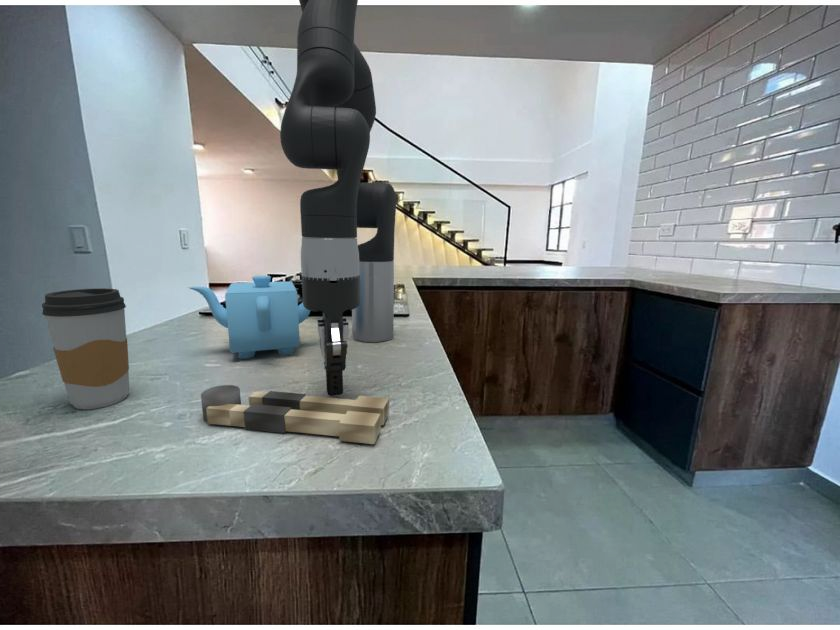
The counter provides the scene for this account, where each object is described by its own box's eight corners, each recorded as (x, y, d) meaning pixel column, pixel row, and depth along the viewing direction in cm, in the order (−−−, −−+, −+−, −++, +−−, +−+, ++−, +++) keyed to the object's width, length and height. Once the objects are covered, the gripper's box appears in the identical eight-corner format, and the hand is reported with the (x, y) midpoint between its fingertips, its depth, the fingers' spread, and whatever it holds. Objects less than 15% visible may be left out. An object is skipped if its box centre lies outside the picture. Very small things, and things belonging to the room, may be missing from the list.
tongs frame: (186, 427, 46) (183, 402, 45) (218, 406, 52) (216, 383, 51) (373, 446, 43) (373, 420, 42) (386, 421, 49) (386, 397, 48)
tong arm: (247, 413, 50) (246, 396, 49) (260, 403, 52) (259, 387, 52) (383, 426, 47) (383, 408, 46) (388, 415, 50) (388, 398, 49)
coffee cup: (128, 383, 59) (114, 286, 55) (147, 398, 53) (131, 292, 50) (54, 400, 52) (33, 292, 49) (67, 420, 47) (44, 300, 44)
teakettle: (267, 370, 65) (261, 284, 62) (190, 354, 72) (182, 277, 69) (333, 342, 82) (331, 274, 79) (266, 332, 89) (262, 268, 86)
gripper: (301, 267, 56) (306, 378, 60) (301, 279, 44) (308, 418, 47) (353, 266, 58) (355, 374, 62) (367, 278, 46) (368, 411, 50)
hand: (334, 393), depth 55 cm, fingers closed
